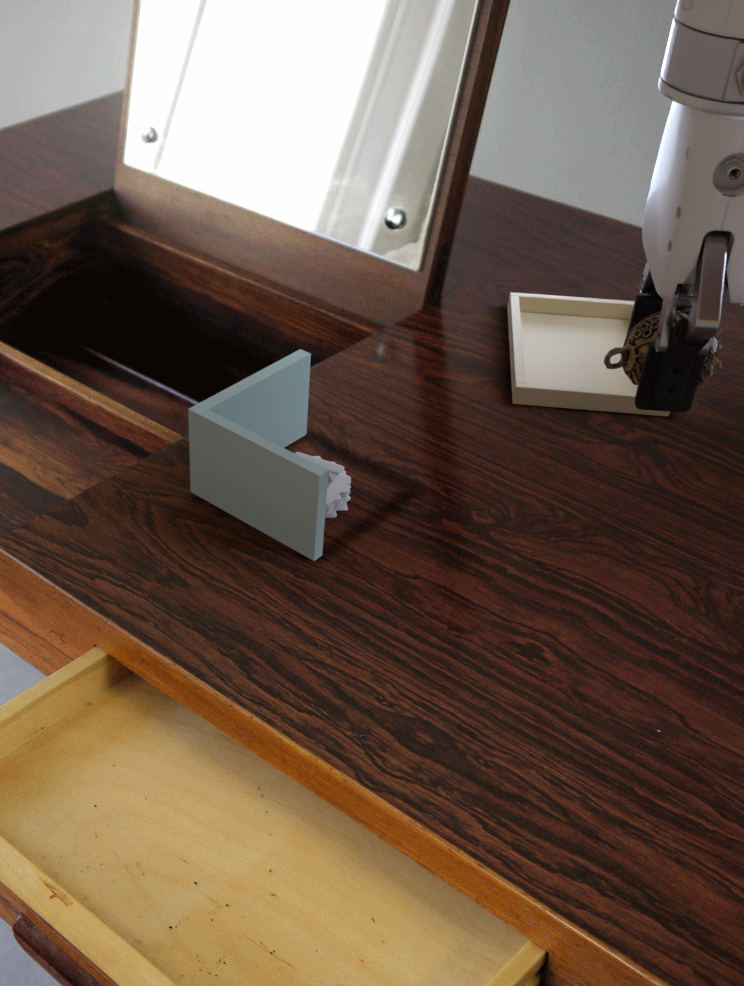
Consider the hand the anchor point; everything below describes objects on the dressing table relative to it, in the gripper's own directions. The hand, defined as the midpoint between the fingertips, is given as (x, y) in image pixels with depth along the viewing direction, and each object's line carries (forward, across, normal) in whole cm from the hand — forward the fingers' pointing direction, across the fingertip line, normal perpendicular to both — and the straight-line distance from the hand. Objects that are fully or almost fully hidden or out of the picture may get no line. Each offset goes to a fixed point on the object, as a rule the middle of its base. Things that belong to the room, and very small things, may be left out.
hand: (655, 379), depth 70 cm
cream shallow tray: (+14, +28, -1) cm, 32 cm away
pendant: (+1, 0, 0) cm, 1 cm away
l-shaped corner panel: (+14, +5, +22) cm, 26 cm away
